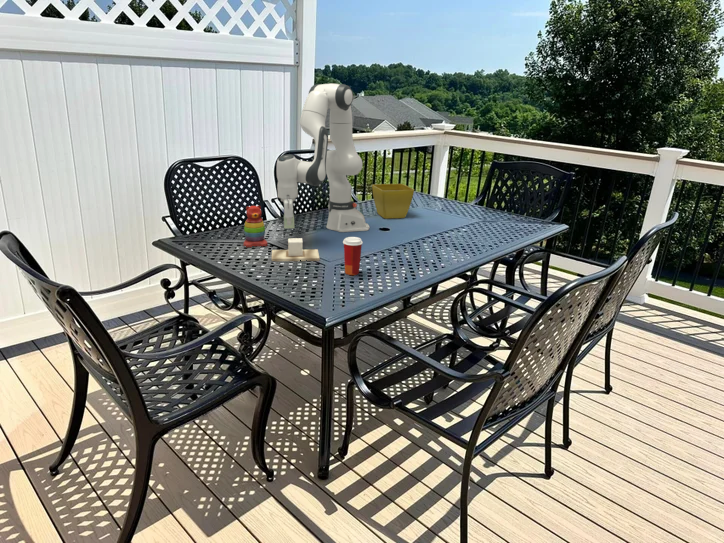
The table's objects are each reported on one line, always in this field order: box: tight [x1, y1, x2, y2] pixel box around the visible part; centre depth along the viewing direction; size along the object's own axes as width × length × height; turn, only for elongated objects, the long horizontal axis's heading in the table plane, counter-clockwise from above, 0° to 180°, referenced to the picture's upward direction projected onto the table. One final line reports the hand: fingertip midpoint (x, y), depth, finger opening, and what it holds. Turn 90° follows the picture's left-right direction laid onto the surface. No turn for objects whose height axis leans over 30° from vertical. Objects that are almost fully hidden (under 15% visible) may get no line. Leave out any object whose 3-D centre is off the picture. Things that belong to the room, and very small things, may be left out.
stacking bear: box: [242, 205, 269, 248], centre depth 233 cm, size 11×10×18 cm
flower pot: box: [371, 183, 415, 220], centre depth 291 cm, size 19×19×17 cm
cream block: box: [287, 237, 304, 256], centre depth 220 cm, size 6×6×6 cm
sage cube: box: [283, 213, 295, 229], centre depth 231 cm, size 4×4×6 cm
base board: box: [271, 248, 320, 262], centre depth 221 cm, size 20×12×1 cm, turn 98°
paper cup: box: [342, 236, 364, 276], centre depth 202 cm, size 8×8×14 cm
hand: (289, 222), depth 231 cm, fingers closed on sage cube, 4 cm apart
